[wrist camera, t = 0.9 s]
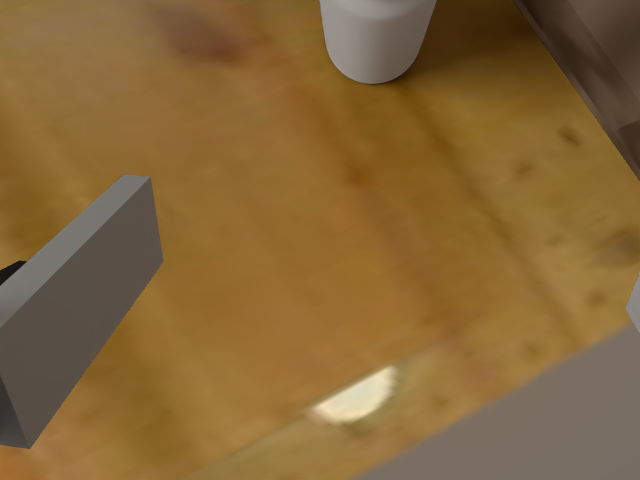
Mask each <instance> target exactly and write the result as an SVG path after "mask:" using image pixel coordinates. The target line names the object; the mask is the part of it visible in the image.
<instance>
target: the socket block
mask: <svg viewBox="0 0 640 480" xmlns="http://www.w3.org/2000/svg"><path fill="white" fill-rule="evenodd" d="M513 1H514V2H515V4H516V5H517V7H518V8H519V9H520V11H521V12H522V14H523V15H524V17H525V18H526V19H527V21H528V22H529V24H530V25H531V27H532V28H533V29H534V31H535V32H536V34H537V35H538V37H539V38H540V39H541V41H542V42H543V44H544V45H545V46H546V48H547V49H548V51H549V52H550V54H551V55H552V56H553V58H554V59H555V61H556V62H557V64H558V65H559V66H560V68H561V69H562V71H563V72H564V74H565V75H566V76H567V78H568V79H569V81H570V82H571V84H572V85H573V86H574V88H575V89H576V91H577V92H578V93H579V95H580V96H581V98H582V99H583V101H584V102H585V103H586V105H587V106H588V108H589V109H590V111H591V112H592V113H593V115H594V116H595V118H596V119H597V121H598V122H599V123H600V125H601V126H602V128H603V129H604V131H605V132H606V133H607V135H608V136H609V138H610V139H611V141H612V142H613V143H614V145H615V146H616V148H617V149H618V150H619V152H620V153H621V155H622V156H623V158H624V159H625V160H626V162H627V163H628V165H629V166H630V168H631V169H632V170H633V172H634V173H635V175H636V176H637V178H638V179H639V180H640V0H513Z"/></svg>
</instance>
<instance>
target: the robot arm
mask: <svg viewBox="0 0 640 480" xmlns="http://www.w3.org/2000/svg"><path fill="white" fill-rule="evenodd" d="M162 263H163V255H162V249H161V242H160V235H159V229H158V222H157V216H156V209H155V203H154V196H153V190H152V183H151V177H145V176H134V175H123V176H122V177H121V178H119V179H118V180H117V181H116V182H115V183H114V184H113V185H112V186H111V187H110V188H108V189H107V190H106V191H105V192H104V193H103V194H102V195H101V196H100V197H98V198H97V199H96V200H95V201H94V202H93V203H92V204H91V205H90V206H88V207H87V208H86V209H85V210H84V211H83V212H82V213H81V214H80V215H78V216H77V217H76V218H75V219H74V220H73V221H72V222H71V223H70V224H68V225H67V226H66V227H65V228H64V229H63V230H62V231H61V232H60V233H58V234H57V235H56V236H55V237H54V238H53V239H52V240H51V241H50V242H48V243H47V244H46V245H45V246H44V247H43V248H42V249H41V250H40V251H38V252H37V253H36V254H35V255H34V256H33V257H32V258H31V259H30V260H29V261H18V262H16V263H14V264H12V265H10V266H8V267H6V268H4V269H2V270H0V445H6V446H13V447H20V448H27V449H30V448H31V447H32V445H33V444H34V443H35V441H36V440H37V438H38V437H39V435H40V434H41V433H42V431H43V430H44V428H45V427H46V426H47V424H48V423H49V421H50V420H51V419H52V417H53V416H54V414H55V413H56V412H57V410H58V409H59V407H60V406H61V405H62V403H63V402H64V400H65V399H66V398H67V396H68V395H69V393H70V392H71V391H72V389H73V388H74V386H75V385H76V384H77V382H78V381H79V379H80V378H81V377H82V375H83V374H84V372H85V371H86V370H87V368H88V367H89V365H90V364H91V363H92V361H93V360H94V358H95V357H96V356H97V354H98V353H99V351H100V350H101V348H102V347H103V346H104V344H105V343H106V341H107V340H108V339H109V337H110V336H111V334H112V333H113V332H114V330H115V329H116V327H117V326H118V325H119V323H120V322H121V320H122V319H123V318H124V316H125V315H126V313H127V312H128V311H129V309H130V308H131V306H132V305H133V304H134V302H135V301H136V299H137V298H138V297H139V295H140V294H141V292H142V291H143V290H144V288H145V287H146V285H147V284H148V283H149V281H150V280H151V278H152V277H153V276H154V274H155V273H156V271H157V270H158V268H159V267H160V266H161V264H162ZM625 309H626V310H627V312H628V314H629V316H630V318H631V319H632V321H633V323H634V325H635V326H636V328H637V330H638V332H639V333H640V274H639V276H638V279H637V281H636V284H635V286H634V289H633V291H632V294H631V296H630V298H629V301H628V303H627V306H626V308H625Z"/></svg>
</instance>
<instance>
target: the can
mask: <svg viewBox="0 0 640 480" xmlns="http://www.w3.org/2000/svg"><path fill="white" fill-rule="evenodd" d="M436 2H437V0H320V7H321V14H322V21H323V29H324V36H325V42H326V47H327V50H328V53H329V56H330V58H331V60H332V62H333V63H334V65H335V66H336V67H337V68H338V69H339V70H340V71H341V72H342V73H343V74H344V75H346V76H347V77H349V78H351V79H353V80H355V81H358V82H362V83H368V84H377V83H384V82H387V81H390V80H393V79H395V78H397V77H398V76H400V75H401V74H403V73H404V72H405V71H406V70H407V69H408V68H409V67H410V66H411V65H412V63H413V62H414V60H415V59H416V57H417V55H418V53H419V50H420V48H421V45H422V42H423V39H424V37H425V34H426V31H427V28H428V25H429V22H430V19H431V16H432V13H433V10H434V7H435V5H436Z"/></svg>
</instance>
